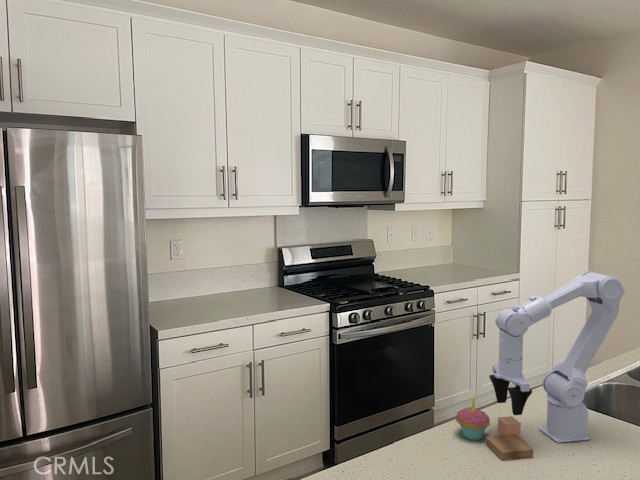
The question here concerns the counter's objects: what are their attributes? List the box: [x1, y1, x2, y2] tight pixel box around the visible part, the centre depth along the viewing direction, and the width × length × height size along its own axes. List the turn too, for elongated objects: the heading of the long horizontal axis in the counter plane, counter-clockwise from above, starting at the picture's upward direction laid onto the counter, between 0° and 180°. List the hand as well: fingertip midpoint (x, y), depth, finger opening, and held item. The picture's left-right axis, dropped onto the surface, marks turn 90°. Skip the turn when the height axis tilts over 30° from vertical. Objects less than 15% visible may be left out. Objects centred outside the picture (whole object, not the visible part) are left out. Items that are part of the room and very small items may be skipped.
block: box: [497, 415, 521, 439], centre depth 133 cm, size 4×4×5 cm
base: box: [485, 434, 534, 461], centre depth 126 cm, size 8×8×2 cm
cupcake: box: [455, 394, 491, 441], centre depth 134 cm, size 9×8×12 cm
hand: (509, 408), depth 132 cm, fingers open, 7 cm apart
